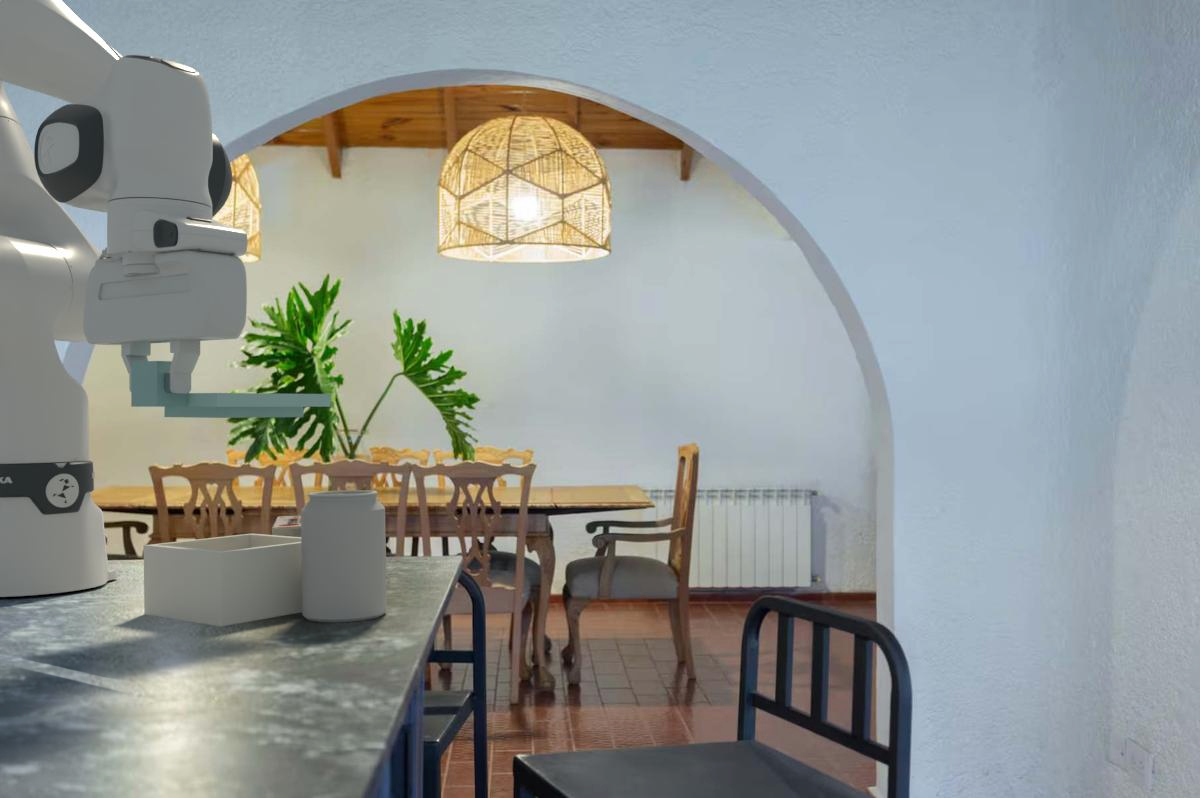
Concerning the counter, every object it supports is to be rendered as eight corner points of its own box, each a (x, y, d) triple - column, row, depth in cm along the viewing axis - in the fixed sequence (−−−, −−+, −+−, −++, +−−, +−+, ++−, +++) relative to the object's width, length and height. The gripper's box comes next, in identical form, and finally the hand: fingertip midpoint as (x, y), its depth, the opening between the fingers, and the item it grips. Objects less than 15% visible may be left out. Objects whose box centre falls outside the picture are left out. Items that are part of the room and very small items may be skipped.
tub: (144, 620, 109) (143, 545, 109) (252, 602, 118) (251, 533, 118) (221, 633, 102) (220, 552, 102) (330, 612, 111) (329, 539, 111)
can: (402, 617, 108) (400, 488, 108) (353, 632, 101) (351, 493, 101) (337, 613, 111) (335, 487, 111) (284, 626, 104) (283, 492, 104)
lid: (105, 417, 107) (105, 362, 107) (249, 416, 119) (249, 367, 119) (185, 418, 99) (185, 359, 99) (330, 417, 112) (330, 364, 112)
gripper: (65, 244, 108) (64, 393, 108) (196, 224, 96) (195, 392, 96) (128, 251, 113) (127, 394, 113) (260, 233, 101) (259, 393, 101)
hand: (159, 393), depth 104 cm, fingers closed on lid, 4 cm apart
